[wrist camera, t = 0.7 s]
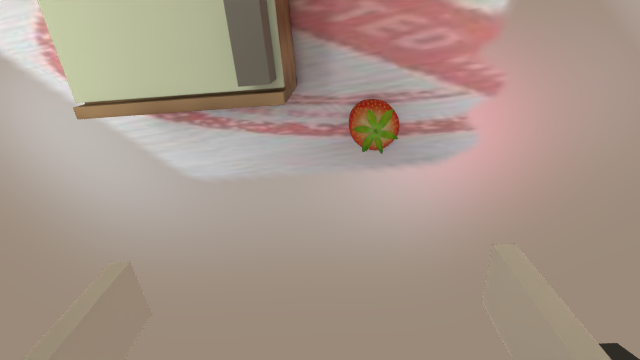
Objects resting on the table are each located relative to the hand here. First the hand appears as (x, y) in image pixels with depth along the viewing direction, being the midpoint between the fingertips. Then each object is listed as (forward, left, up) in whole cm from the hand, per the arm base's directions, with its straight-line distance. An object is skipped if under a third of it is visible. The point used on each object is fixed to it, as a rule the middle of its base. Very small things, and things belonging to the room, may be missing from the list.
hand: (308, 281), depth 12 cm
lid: (-10, -12, -19) cm, 25 cm away
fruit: (+1, +5, -29) cm, 29 cm away
